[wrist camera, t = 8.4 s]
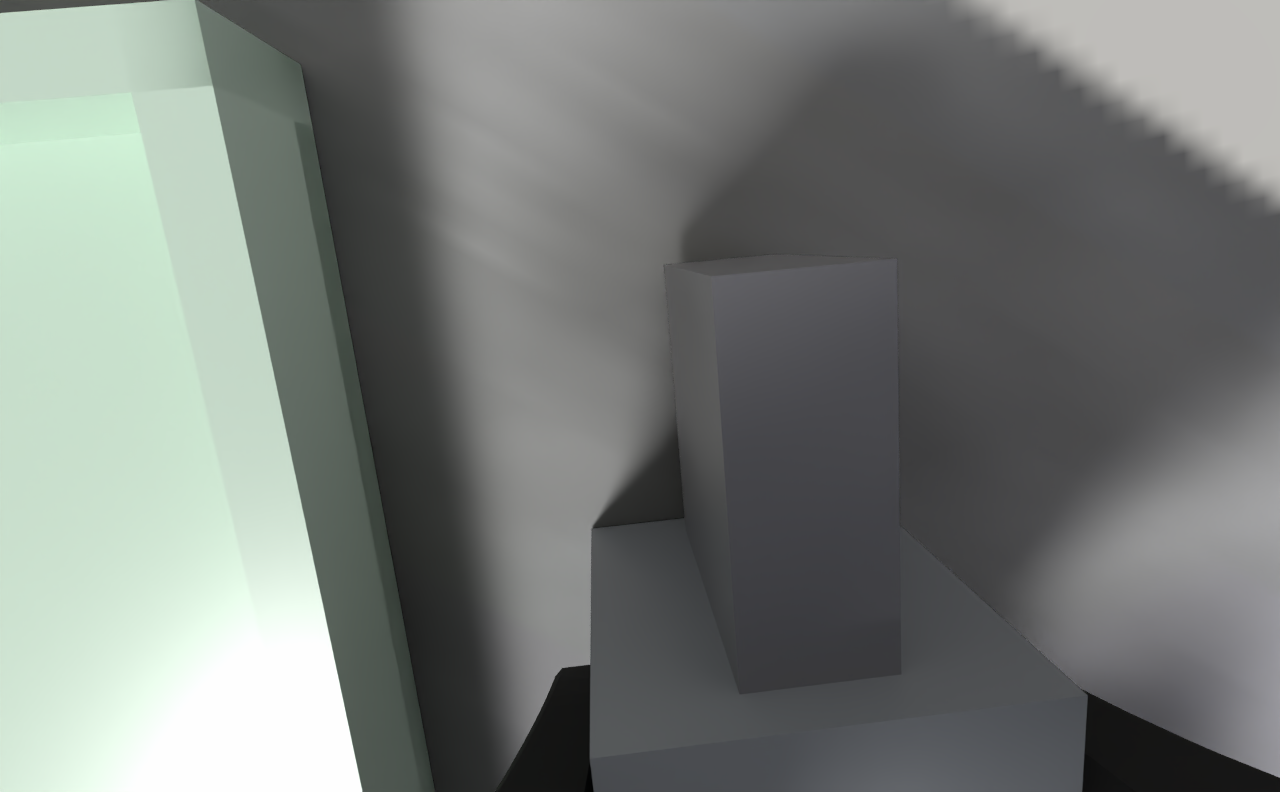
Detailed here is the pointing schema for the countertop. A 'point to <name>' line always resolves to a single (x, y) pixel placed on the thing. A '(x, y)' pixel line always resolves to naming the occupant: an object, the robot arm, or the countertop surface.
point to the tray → (183, 428)
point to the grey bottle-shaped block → (804, 573)
